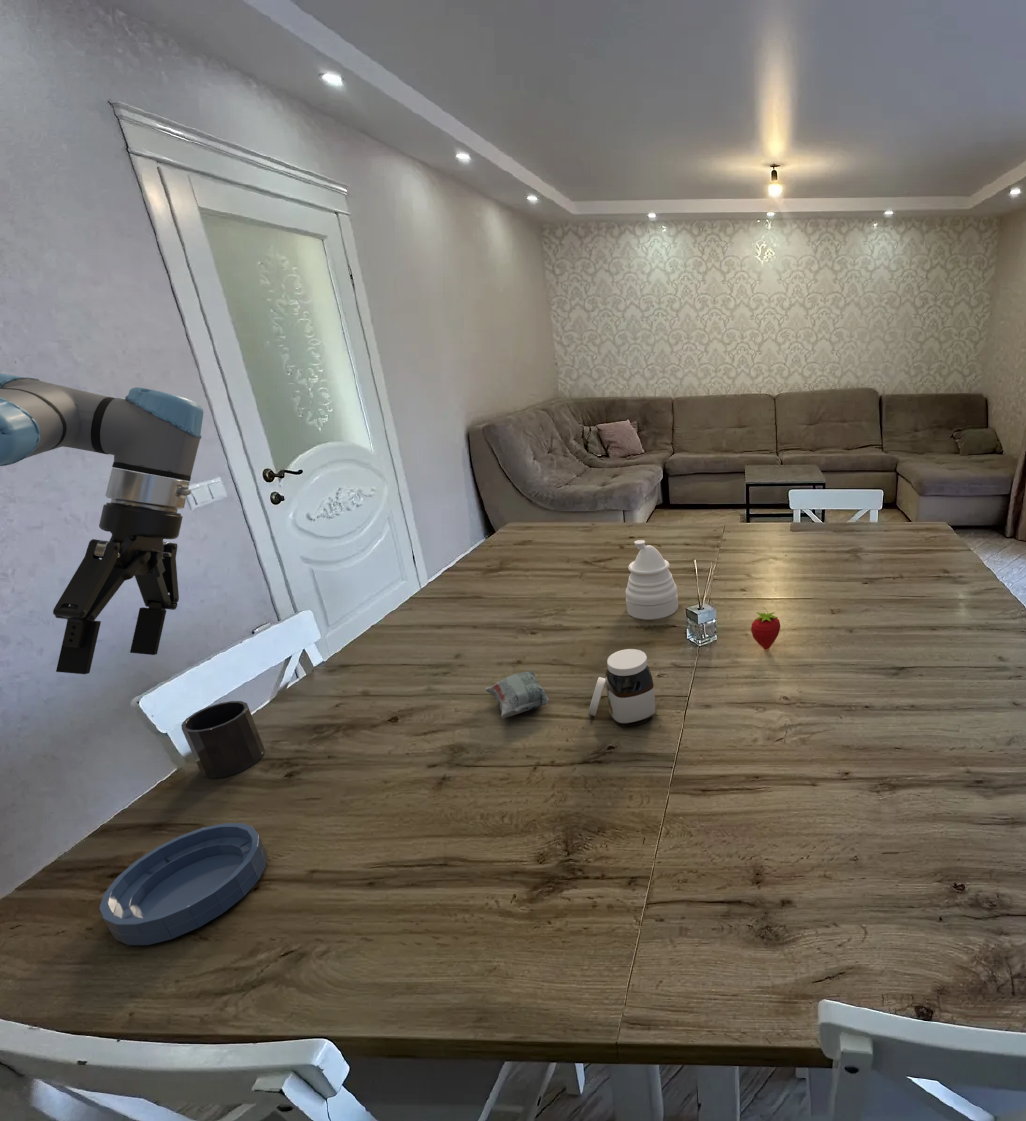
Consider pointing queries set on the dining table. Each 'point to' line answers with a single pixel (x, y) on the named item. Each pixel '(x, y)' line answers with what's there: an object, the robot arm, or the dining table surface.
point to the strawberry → (765, 629)
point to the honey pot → (650, 585)
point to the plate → (183, 884)
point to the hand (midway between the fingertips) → (111, 662)
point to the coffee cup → (223, 739)
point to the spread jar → (626, 688)
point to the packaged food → (518, 694)
